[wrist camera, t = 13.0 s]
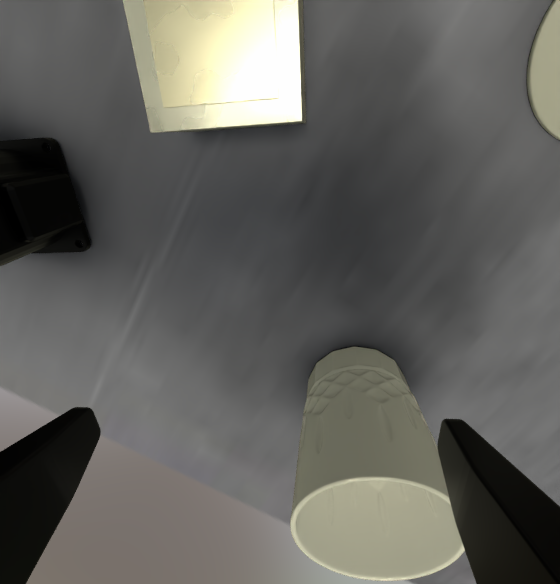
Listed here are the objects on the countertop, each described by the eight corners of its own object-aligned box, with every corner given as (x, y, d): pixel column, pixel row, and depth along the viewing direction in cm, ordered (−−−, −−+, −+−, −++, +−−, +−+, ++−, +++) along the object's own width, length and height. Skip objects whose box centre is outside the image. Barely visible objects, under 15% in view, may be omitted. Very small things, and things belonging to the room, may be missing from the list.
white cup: (362, 317, 22) (393, 450, 13) (436, 388, 23) (508, 549, 14) (278, 379, 25) (255, 523, 16) (349, 438, 26) (365, 596, 17)
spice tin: (193, 131, 18) (148, 132, 13) (169, -15, 15) (103, -80, 10) (306, 123, 17) (301, 120, 12) (302, -33, 14) (293, -110, 10)
